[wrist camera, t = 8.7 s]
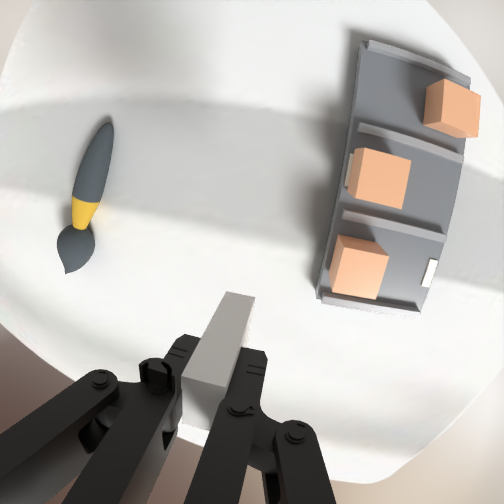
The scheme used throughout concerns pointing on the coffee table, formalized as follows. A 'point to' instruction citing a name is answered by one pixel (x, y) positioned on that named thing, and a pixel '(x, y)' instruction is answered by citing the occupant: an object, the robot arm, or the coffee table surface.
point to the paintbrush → (86, 201)
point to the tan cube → (357, 267)
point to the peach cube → (379, 177)
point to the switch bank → (418, 185)
